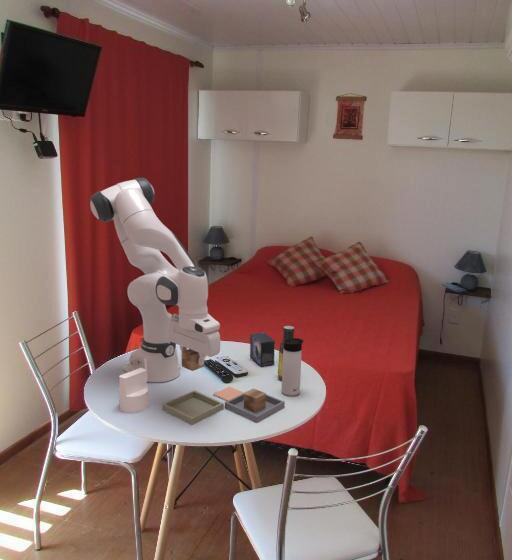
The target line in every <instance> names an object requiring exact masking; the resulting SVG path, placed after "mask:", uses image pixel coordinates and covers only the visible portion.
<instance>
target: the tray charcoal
mask: <svg viewBox="0 0 512 560" xmlns="http://www.w3.org/2000/svg"><path fill="white" fill-rule="evenodd" d="M253 389H254V388H251V389H249V390H247V391H245V392H244V393H246V392H248V391H251V390H253ZM244 393H243V394H241V395H239V396H237V397H235V398H233V399H231V400H228V401H225V402H224V409H226V410H228V411H230V412H232V413H234V414H237V415H239V416H241V417H243V418H246V419H247V420H250V421H252V422H254V423H256V424H257V423H259V422H262V421H264V420H265V419H267V418H268V417H270V416H271V415H273V414H275V413H277V412H278V411H281V410H283V409H284V408H285V407H286V406H285V403H286V401H285V400H282V399H279V398H277V397H274V396H272V395H269V394H267V393H266V408H264V409H262V410H260V411H258V412H256V413H255V412H252V411H250V410H248V409H245V408H244Z"/></svg>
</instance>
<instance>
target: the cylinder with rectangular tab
mask: <svg viewBox="0 0 512 560" xmlns="http://www.w3.org/2000/svg"><path fill="white" fill-rule="evenodd" d="M118 379H119V382H118V383H119V391H118V393H119V394H118V395H119V409H120V411H122V412H125V413H127V414H128V413H130V414H131V413H132V414H134V413H135V414H136V413H140V412H143V411H145V410H146V409H148V407H149V388H148V382H147V370H145V369H143V368H139V369H136V370H133V371H131V372H128V373H127V372H125V373H124V374H123V373H122V374H119V376H118Z"/></svg>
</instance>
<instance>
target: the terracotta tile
mask: <svg viewBox="0 0 512 560" xmlns="http://www.w3.org/2000/svg"><path fill="white" fill-rule="evenodd" d="M243 393H245V392H244V391H241V390H240V389H237V388H234V387H232V386H227V387H226V388H223V389H221V390H219V391H217V392H214V393H213V395H212V396H214V397H217V398H218V399H220V400H224V401H225V402H226V401H228V400H231V399H233V398H235V397H237V396H239V395H241V394H243Z"/></svg>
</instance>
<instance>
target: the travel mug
mask: <svg viewBox="0 0 512 560" xmlns="http://www.w3.org/2000/svg"><path fill="white" fill-rule="evenodd" d="M303 343H304V339H302V338H297V337H294V338H291V339H287V340H285V341H284V348H283V370H282V380H281V394H282V395H283V396H285V397H290V398H294V397H298V396H299V395H300V391H301V371H302V370H301V369H302V353H303V352H302V349H303Z"/></svg>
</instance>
